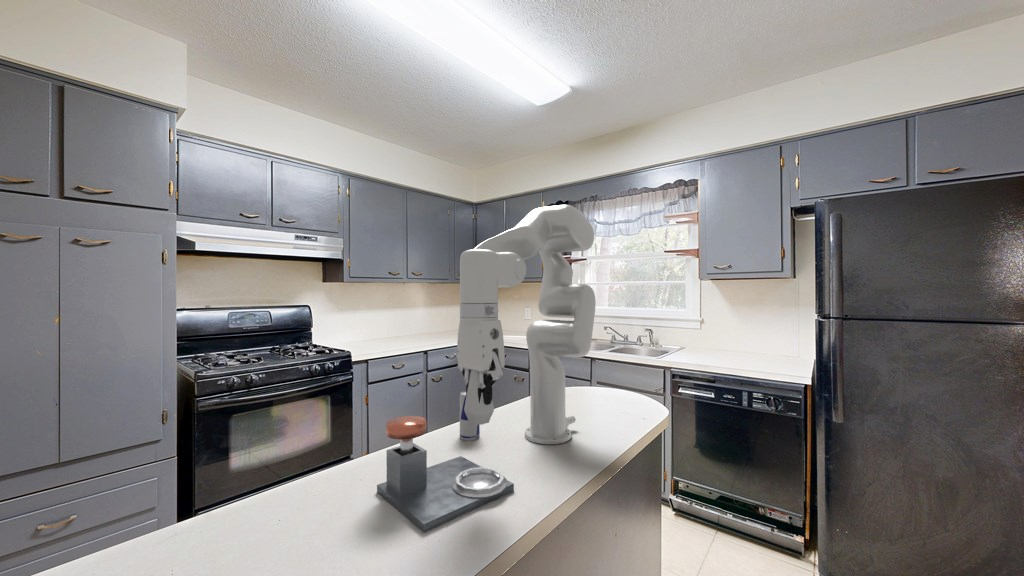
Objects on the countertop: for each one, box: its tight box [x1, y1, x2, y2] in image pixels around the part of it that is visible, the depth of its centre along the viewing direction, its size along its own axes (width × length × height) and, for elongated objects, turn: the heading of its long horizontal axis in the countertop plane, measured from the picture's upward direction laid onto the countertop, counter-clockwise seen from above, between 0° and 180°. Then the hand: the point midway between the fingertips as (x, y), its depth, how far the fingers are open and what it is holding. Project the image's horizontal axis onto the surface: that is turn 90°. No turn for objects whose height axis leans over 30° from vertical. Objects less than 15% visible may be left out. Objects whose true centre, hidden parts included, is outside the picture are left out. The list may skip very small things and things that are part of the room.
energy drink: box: [459, 390, 481, 442], centre depth 107 cm, size 5×5×12 cm
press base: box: [376, 442, 515, 534], centre depth 78 cm, size 20×19×8 cm
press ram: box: [385, 415, 427, 456], centre depth 77 cm, size 8×8×8 cm
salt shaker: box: [464, 370, 495, 426], centre depth 78 cm, size 6×6×13 cm
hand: (479, 404), depth 78 cm, fingers closed on salt shaker, 3 cm apart
